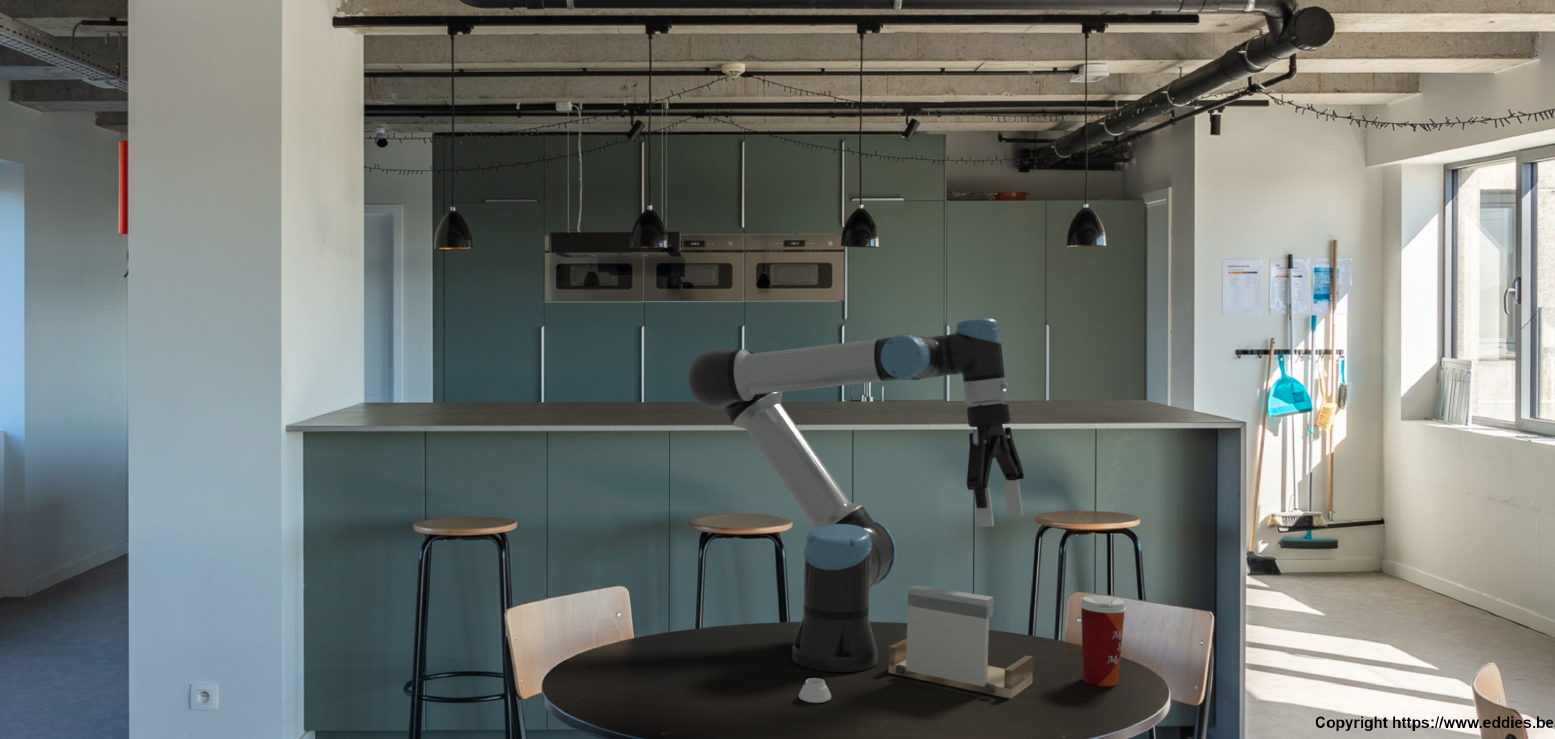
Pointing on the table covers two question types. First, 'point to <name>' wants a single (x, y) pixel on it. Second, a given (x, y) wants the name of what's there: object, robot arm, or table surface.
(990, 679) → the cart bed
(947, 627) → the tailgate
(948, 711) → the table surface
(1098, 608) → the paper cup
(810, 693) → the white jar
